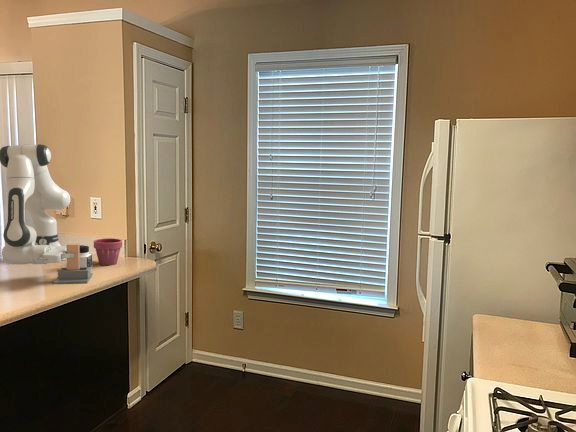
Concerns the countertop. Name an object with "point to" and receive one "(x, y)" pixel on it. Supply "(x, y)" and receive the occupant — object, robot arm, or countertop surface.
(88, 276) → the rack
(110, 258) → the plant pot
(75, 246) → the tall tan pillar block
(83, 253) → the medicine bottle
